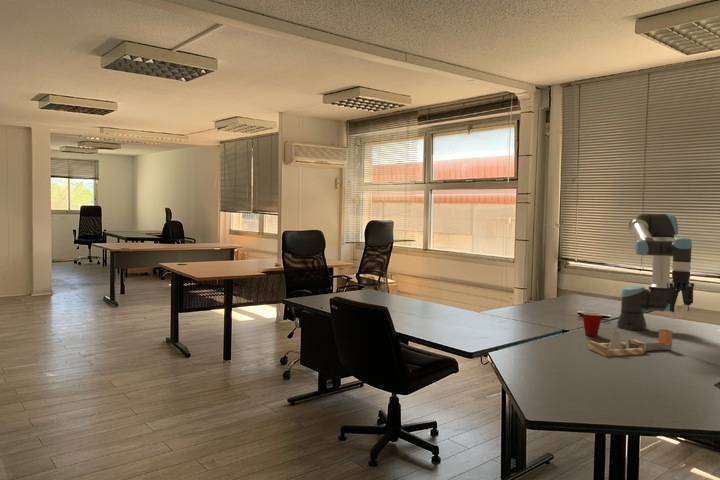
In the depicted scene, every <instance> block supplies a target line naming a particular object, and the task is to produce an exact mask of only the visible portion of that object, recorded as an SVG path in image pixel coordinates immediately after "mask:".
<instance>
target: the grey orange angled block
mask: <svg viewBox="0 0 720 480" xmlns="http://www.w3.org/2000/svg"><path fill="white" fill-rule="evenodd" d="M645 343H646V352H647V351H648V352H649V351H669V350H672V348H673V331H672V330H670V329H658V341H657V342H645ZM628 344H629V343H628ZM633 348H638V345H635V344H629V349H633Z"/></svg>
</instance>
